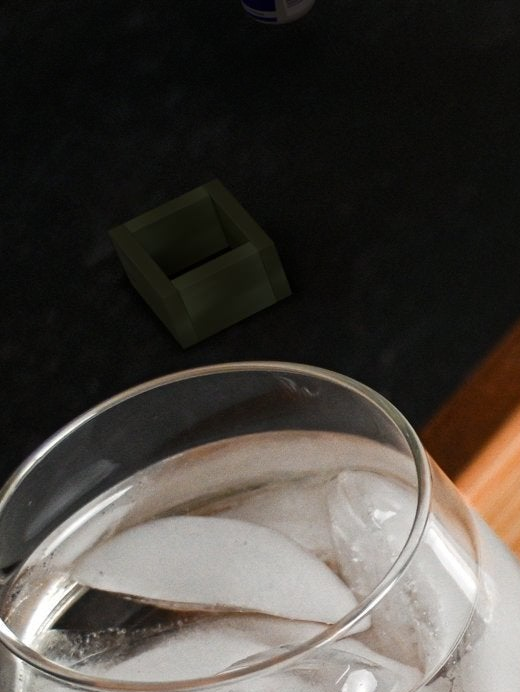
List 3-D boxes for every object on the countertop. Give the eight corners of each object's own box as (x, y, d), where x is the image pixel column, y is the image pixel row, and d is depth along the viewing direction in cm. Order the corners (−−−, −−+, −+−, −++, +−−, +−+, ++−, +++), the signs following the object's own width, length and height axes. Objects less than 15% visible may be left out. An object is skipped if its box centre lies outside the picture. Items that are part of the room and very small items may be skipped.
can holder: (185, 353, 131) (161, 298, 127) (132, 286, 135) (107, 230, 131) (294, 298, 134) (274, 242, 130) (238, 234, 138) (217, 177, 133)
